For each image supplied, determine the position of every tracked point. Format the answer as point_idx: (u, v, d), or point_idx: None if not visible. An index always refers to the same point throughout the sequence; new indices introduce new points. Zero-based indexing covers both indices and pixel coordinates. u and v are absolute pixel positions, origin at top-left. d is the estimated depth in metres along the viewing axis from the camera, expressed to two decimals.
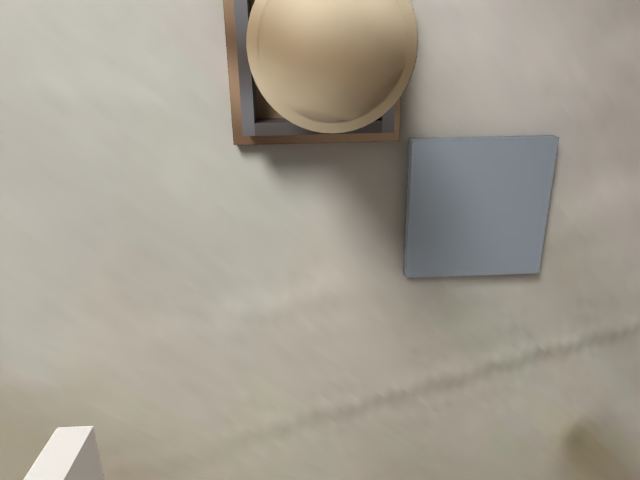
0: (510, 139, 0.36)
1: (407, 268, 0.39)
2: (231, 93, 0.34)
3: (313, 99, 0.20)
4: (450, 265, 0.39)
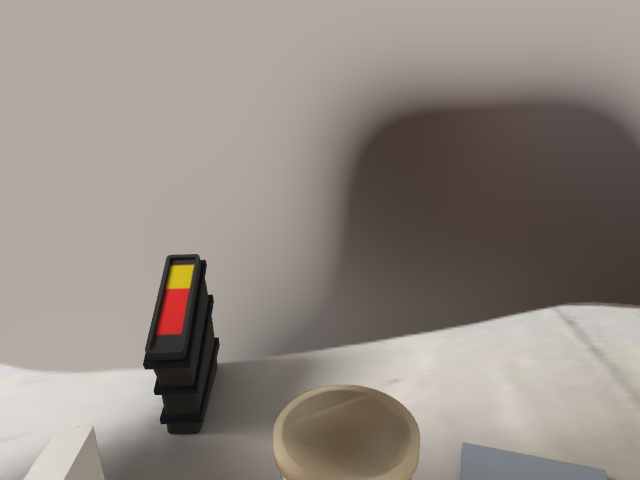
0: (462, 474, 0.39)
1: None
2: None
3: (386, 451, 0.21)
4: None
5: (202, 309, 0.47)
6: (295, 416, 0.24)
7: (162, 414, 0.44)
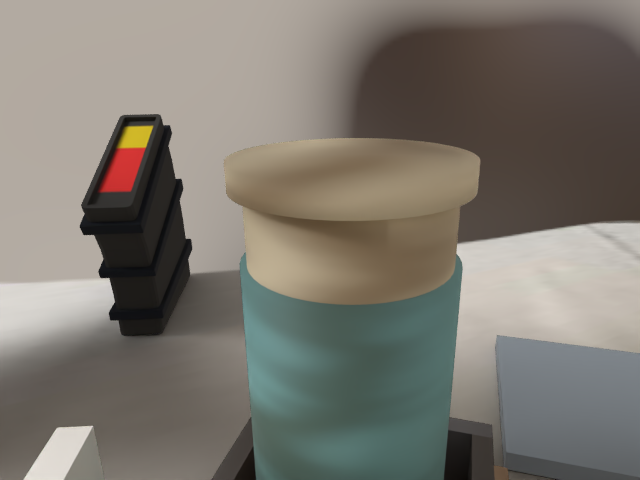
0: (500, 365, 0.30)
1: None
2: None
3: (422, 164, 0.12)
4: None
5: (166, 185, 0.38)
6: (265, 151, 0.14)
7: (112, 308, 0.35)
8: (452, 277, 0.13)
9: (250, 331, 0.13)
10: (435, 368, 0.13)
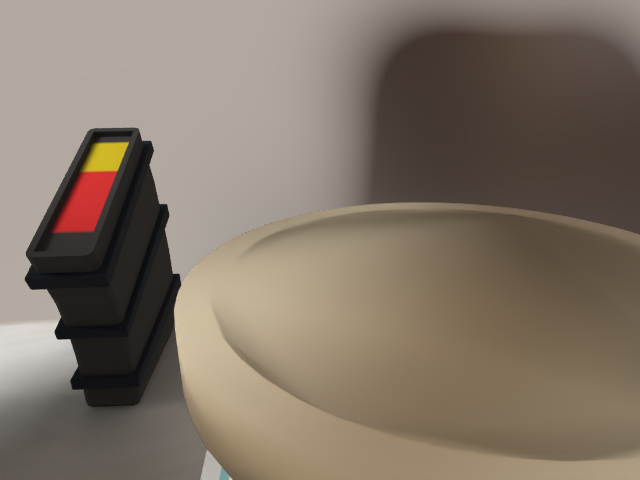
0: None
1: None
2: None
3: None
4: None
5: (145, 215, 0.31)
6: (272, 250, 0.07)
7: (75, 374, 0.28)
8: None
9: None
10: None
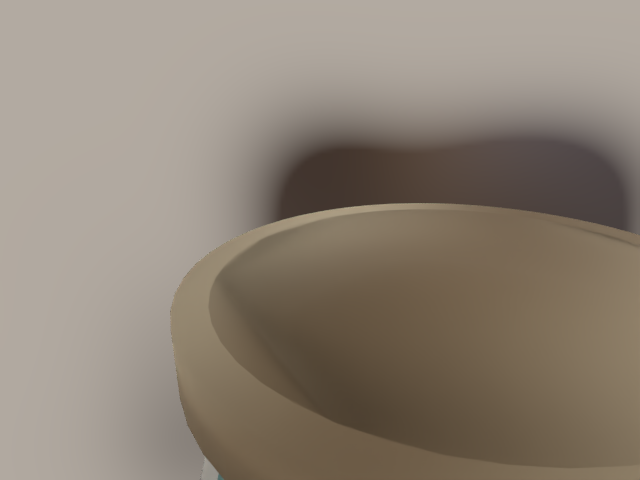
0: None
1: None
2: None
3: None
4: None
5: None
6: (270, 252, 0.07)
7: None
8: None
9: None
10: None
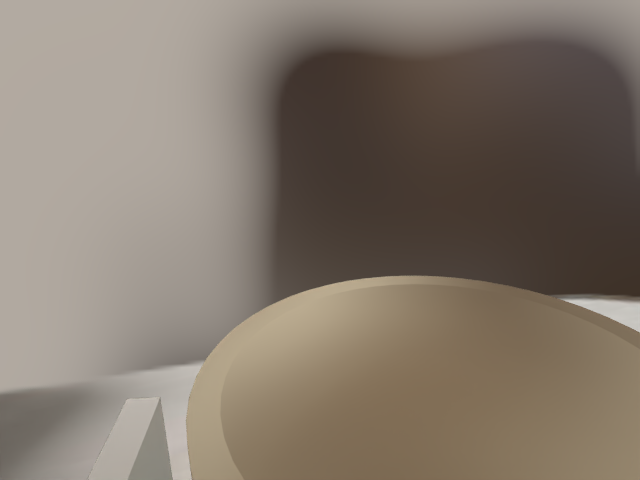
0: None
1: None
2: None
3: None
4: None
5: None
6: (275, 342, 0.07)
7: None
8: None
9: None
10: None
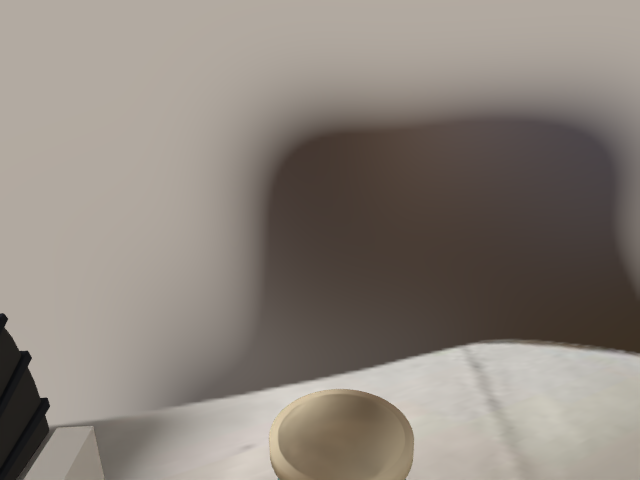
0: None
1: None
2: None
3: (380, 453, 0.22)
4: None
5: None
6: (291, 420, 0.24)
7: None
8: None
9: None
10: None
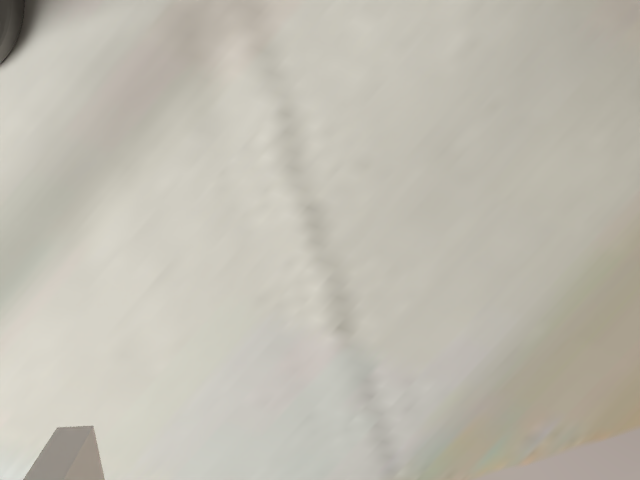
0: None
1: None
2: None
3: None
4: None
5: None
6: None
7: None
8: None
9: None
10: None
